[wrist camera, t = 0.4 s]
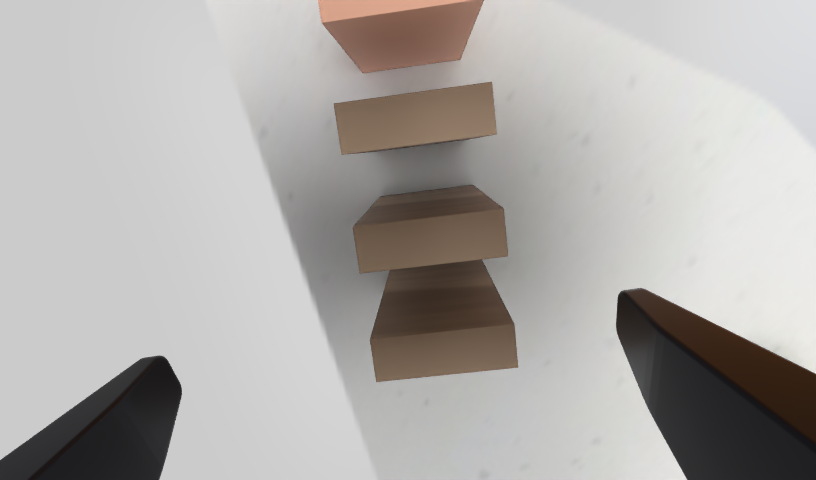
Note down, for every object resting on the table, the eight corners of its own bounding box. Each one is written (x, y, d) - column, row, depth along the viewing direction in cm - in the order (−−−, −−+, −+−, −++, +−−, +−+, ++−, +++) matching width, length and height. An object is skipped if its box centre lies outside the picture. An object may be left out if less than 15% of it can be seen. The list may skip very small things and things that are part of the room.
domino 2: (468, 139, 25) (496, 134, 15) (374, 151, 25) (341, 154, 15) (465, 107, 25) (492, 81, 15) (369, 120, 25) (333, 103, 15)
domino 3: (476, 214, 26) (508, 256, 16) (384, 225, 26) (359, 273, 16) (472, 184, 25) (503, 208, 16) (380, 196, 26) (352, 227, 16)
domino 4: (483, 285, 26) (518, 367, 17) (394, 295, 27) (376, 381, 17) (480, 257, 26) (514, 323, 16) (390, 268, 26) (369, 339, 17)
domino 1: (460, 59, 24) (484, -2, 14) (363, 73, 24) (321, 22, 15) (456, 26, 24) (479, -60, 14) (358, 40, 24) (313, -34, 14)
